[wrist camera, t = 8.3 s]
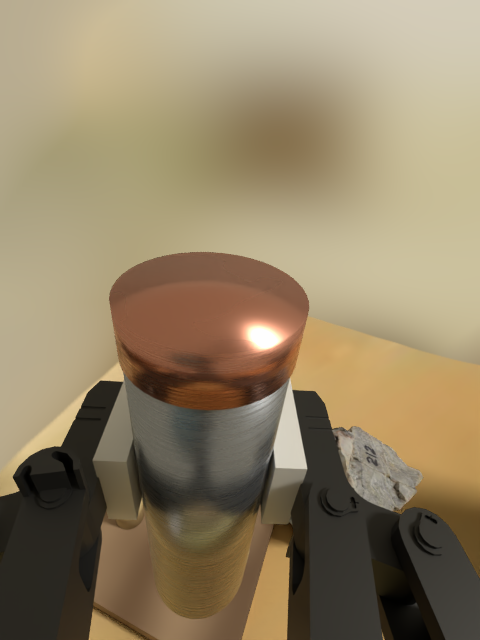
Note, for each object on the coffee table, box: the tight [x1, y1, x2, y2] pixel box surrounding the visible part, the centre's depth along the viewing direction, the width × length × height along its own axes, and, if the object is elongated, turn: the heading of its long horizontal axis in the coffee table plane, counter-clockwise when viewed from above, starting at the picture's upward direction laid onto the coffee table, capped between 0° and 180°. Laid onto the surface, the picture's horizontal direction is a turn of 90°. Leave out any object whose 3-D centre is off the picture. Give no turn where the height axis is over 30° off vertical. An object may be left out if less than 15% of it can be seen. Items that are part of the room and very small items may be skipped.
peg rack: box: [93, 499, 274, 640], centre depth 23 cm, size 12×10×4 cm
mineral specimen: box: [289, 426, 423, 524], centre depth 26 cm, size 10×8×10 cm
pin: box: [109, 252, 309, 619], centre depth 9 cm, size 4×4×12 cm
